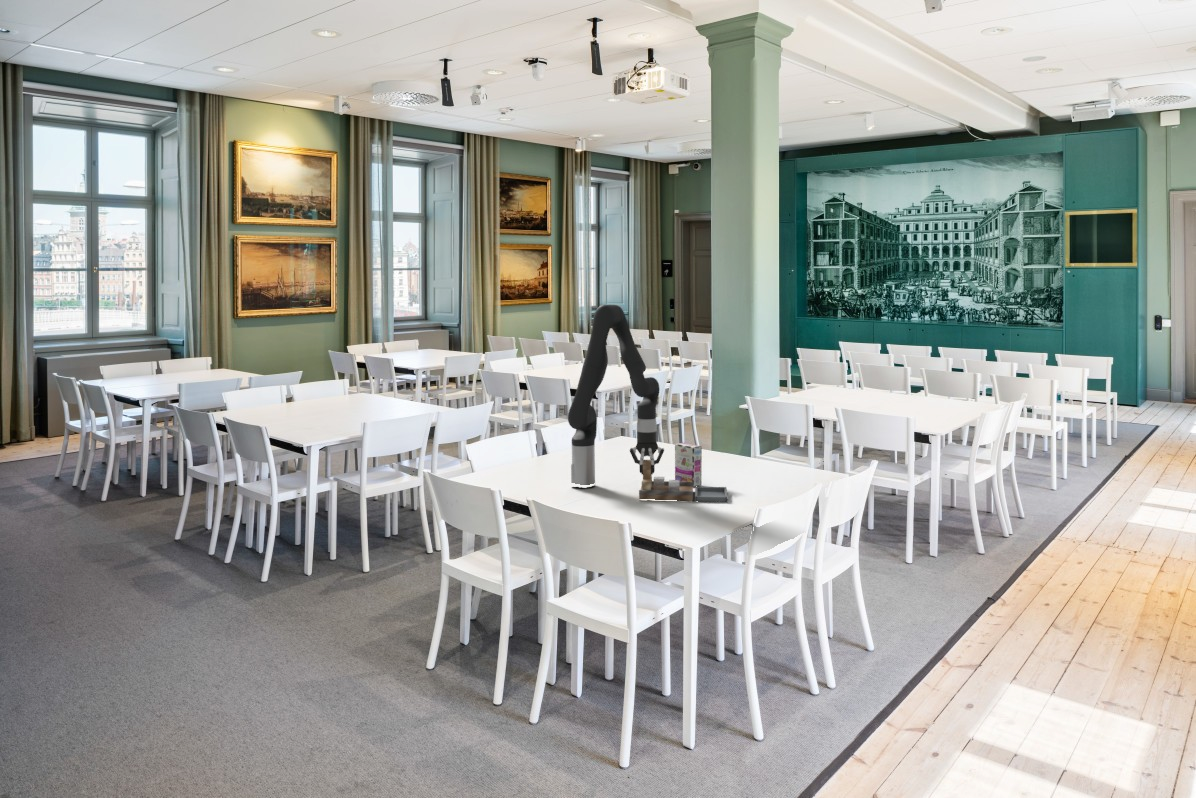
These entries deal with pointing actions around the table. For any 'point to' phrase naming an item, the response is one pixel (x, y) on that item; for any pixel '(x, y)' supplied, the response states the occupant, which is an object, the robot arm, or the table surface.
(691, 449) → the candy bar box
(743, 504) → the table surface
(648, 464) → the tan stepped block
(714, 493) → the tray
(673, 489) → the gray cube
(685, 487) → the slot board
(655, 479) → the grey cube
